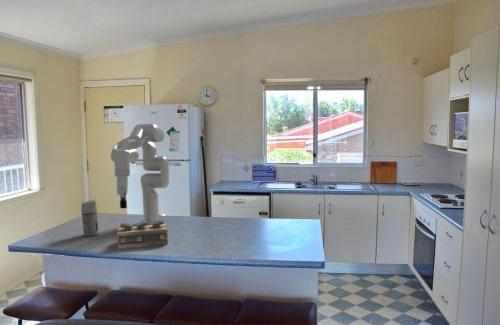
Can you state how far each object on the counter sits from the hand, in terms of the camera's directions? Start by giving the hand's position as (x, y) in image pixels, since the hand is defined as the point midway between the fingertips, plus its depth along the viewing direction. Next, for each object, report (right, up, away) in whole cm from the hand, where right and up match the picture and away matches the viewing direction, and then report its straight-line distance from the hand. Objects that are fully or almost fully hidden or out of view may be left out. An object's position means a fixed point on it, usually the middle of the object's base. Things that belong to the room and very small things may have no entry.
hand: (123, 207), depth 209 cm
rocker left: (+2, -9, 0) cm, 9 cm away
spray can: (-25, -18, +20) cm, 36 cm away
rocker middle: (+9, -9, +2) cm, 13 cm away
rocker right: (+17, -9, +4) cm, 20 cm away
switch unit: (+9, -19, +3) cm, 21 cm away
